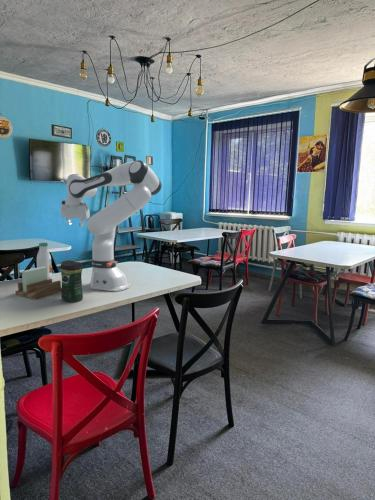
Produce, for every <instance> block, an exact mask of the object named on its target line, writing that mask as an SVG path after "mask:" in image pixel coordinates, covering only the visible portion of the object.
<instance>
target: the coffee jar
mask: <svg viewBox="0 0 375 500" xmlns="http://www.w3.org/2000/svg"><path fill="white" fill-rule="evenodd" d="M82 272H83V264H82V263H81V262H79V261H74V260H64V261H62V262H60V273H61V275H60V276H61V288H62V292H60V293H61V300H62V301H66V302H67V303H68V302H69V303H73V302H74V303H75V302H76V303H77V302H78V303H79V302H80V301H81V300H83V298H84V294H83V293H84V292H83V283H82Z"/></svg>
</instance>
